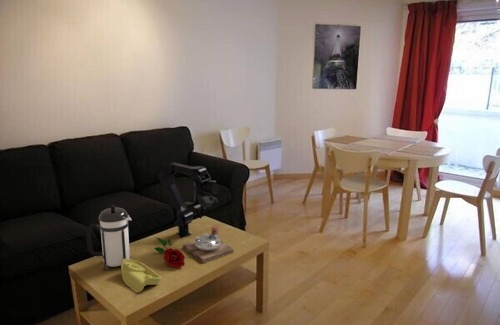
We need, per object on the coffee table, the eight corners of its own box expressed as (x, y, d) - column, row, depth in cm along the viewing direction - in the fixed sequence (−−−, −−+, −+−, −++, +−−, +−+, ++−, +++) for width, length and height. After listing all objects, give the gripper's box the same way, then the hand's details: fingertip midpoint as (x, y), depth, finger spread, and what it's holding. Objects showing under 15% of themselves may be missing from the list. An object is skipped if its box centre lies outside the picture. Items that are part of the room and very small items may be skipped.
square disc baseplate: (183, 247, 196) (183, 244, 196) (212, 238, 207) (212, 235, 207) (203, 263, 181) (203, 259, 181) (233, 252, 192) (233, 248, 192)
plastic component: (163, 278, 164) (145, 277, 156) (156, 294, 163) (138, 294, 155) (138, 259, 176) (120, 258, 168) (132, 274, 176) (114, 273, 168)
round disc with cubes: (215, 253, 186) (215, 241, 184) (191, 250, 189) (190, 237, 188) (227, 238, 203) (227, 226, 201) (205, 235, 207) (205, 223, 205)
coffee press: (121, 252, 190) (116, 196, 183) (139, 263, 180) (136, 204, 173) (88, 265, 177) (82, 206, 170) (106, 277, 167) (101, 215, 160)
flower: (150, 227, 194) (178, 253, 172) (165, 230, 200) (194, 256, 178) (142, 243, 194) (170, 271, 172) (158, 246, 200) (186, 274, 178)
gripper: (192, 198, 186) (193, 227, 190) (223, 191, 198) (223, 218, 202) (181, 192, 195) (182, 220, 199) (211, 185, 206) (211, 212, 210)
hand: (200, 218), depth 202 cm, fingers closed
